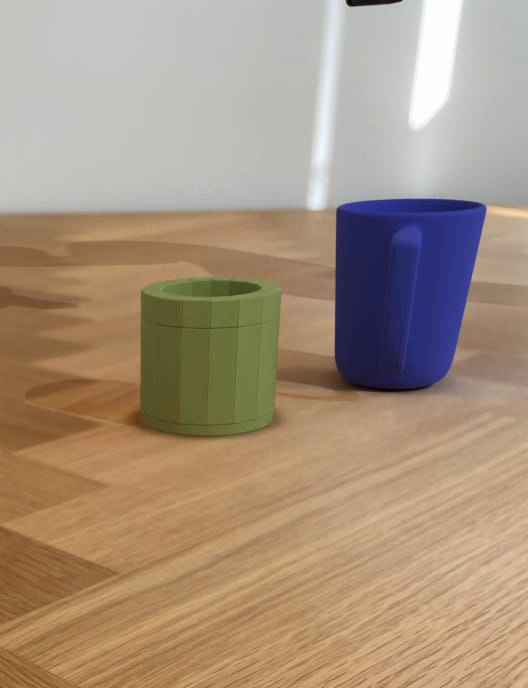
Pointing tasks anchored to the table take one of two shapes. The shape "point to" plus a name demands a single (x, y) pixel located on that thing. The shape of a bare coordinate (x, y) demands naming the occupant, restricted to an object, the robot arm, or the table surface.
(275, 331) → the green open cylindrical container
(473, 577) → the table surface
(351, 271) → the mug
